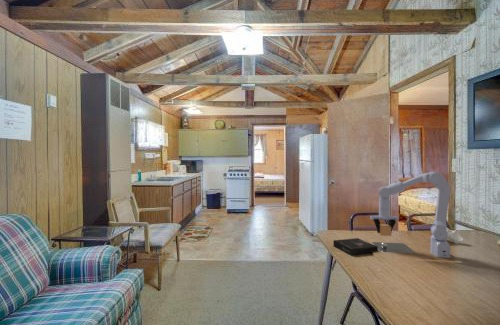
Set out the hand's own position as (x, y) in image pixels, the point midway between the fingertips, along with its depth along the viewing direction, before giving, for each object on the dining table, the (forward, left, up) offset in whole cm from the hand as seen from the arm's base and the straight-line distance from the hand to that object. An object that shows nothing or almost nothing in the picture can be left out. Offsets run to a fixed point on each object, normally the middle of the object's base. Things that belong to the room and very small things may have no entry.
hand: (384, 232), depth 162 cm
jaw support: (+20, -42, -10) cm, 47 cm away
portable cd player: (-3, +16, -10) cm, 19 cm away
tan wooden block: (0, 0, -1) cm, 1 cm away
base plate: (+1, -5, -9) cm, 11 cm away
